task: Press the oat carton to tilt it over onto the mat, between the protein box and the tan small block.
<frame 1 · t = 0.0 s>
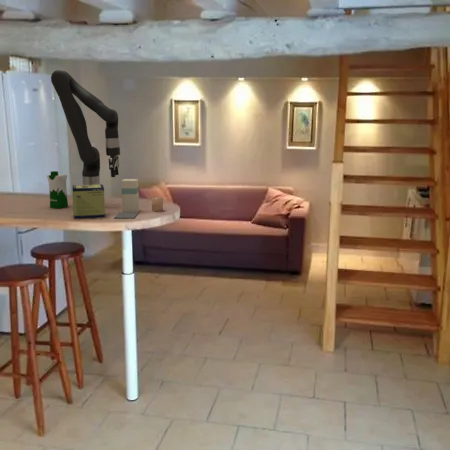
hand: (114, 176, 294), 17 cm above the table, tool pointing down, fingers open, 8 cm apart
oat carton: (131, 211, 285), on the table
tan small block: (157, 210, 286), on the table
mat: (126, 215, 273), on the table
protein box: (89, 216, 272), on the table
milk carton: (59, 207, 296), on the table
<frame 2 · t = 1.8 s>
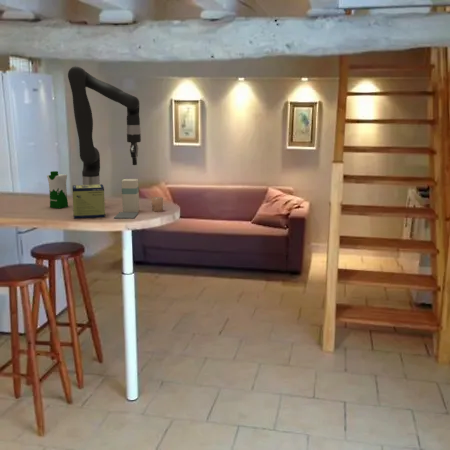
hand: (134, 164, 295), 23 cm above the table, tool pointing down, fingers closed
nothing on the table moved.
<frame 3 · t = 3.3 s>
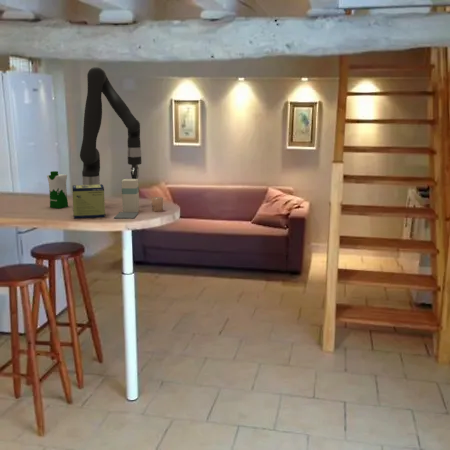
hand: (135, 186, 297), 11 cm above the table, tool pointing down, fingers closed
nothing on the table moved.
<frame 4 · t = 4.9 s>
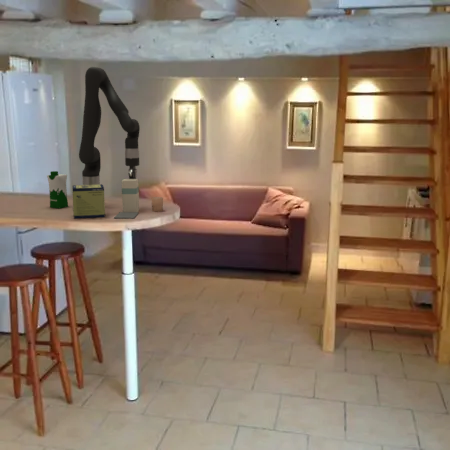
hand: (133, 188, 290), 11 cm above the table, tool pointing down, fingers closed
nothing on the table moved.
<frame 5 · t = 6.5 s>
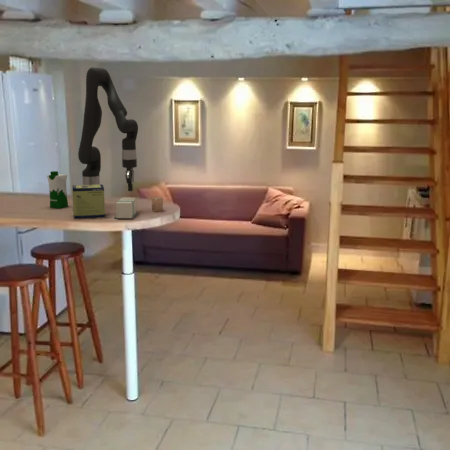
hand: (130, 190, 282), 11 cm above the table, tool pointing down, fingers closed
oat carton: (129, 204, 280), point 4 cm above the table, tilted 90°, touching mat
everything else where it was.
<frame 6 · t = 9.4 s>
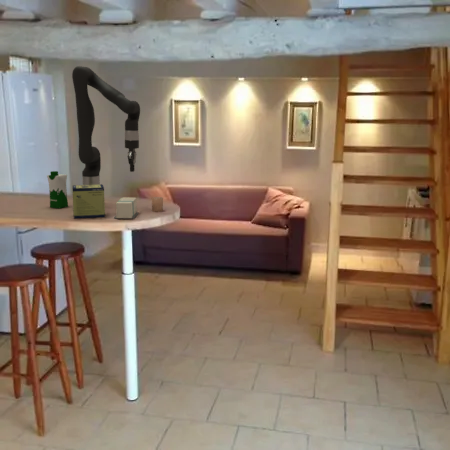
hand: (132, 171, 287), 21 cm above the table, tool pointing down, fingers closed
nothing on the table moved.
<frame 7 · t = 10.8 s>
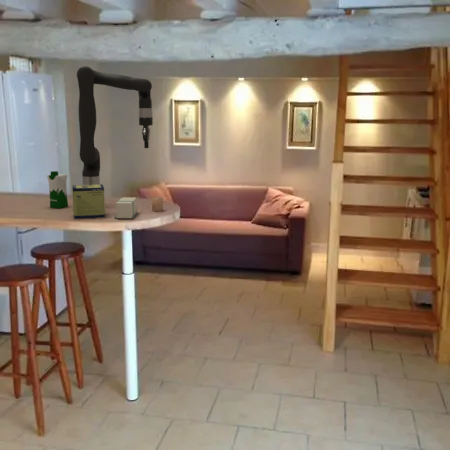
hand: (146, 148, 298), 32 cm above the table, tool pointing down, fingers closed
nothing on the table moved.
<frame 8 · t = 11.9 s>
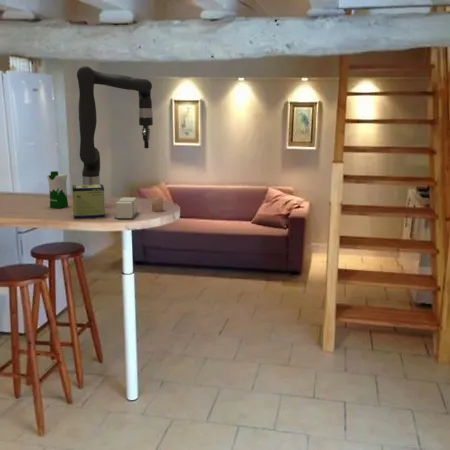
hand: (146, 148, 298), 32 cm above the table, tool pointing down, fingers closed
nothing on the table moved.
at the end: oat carton tilted 90°; oat carton touching mat; oat carton inside the target area (7.4 cm from its centre), point 4.3 cm above the table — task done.
